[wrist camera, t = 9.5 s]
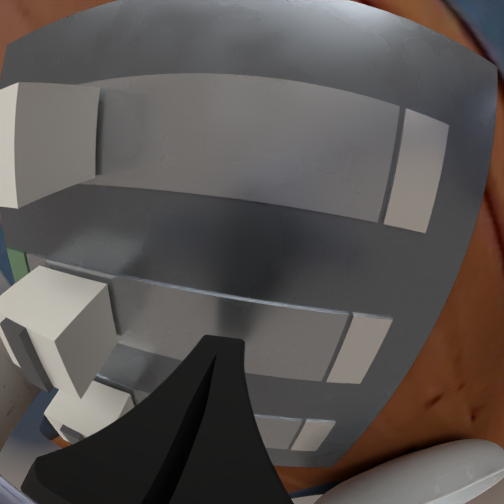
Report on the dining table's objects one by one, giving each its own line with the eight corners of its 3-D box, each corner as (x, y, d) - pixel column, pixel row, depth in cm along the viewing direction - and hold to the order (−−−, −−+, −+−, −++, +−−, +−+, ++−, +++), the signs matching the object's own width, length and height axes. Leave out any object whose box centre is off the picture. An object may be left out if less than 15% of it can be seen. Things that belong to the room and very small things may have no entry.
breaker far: (130, 394, 13) (102, 450, 9) (139, 421, 14) (118, 471, 10) (71, 371, 13) (40, 418, 9) (85, 400, 14) (60, 443, 10)
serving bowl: (368, 502, 24) (371, 540, 18) (255, 481, 20) (247, 539, 14) (504, 430, 17) (519, 471, 10) (465, 377, 13) (502, 459, 6)
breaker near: (100, 87, 7) (6, 82, 3) (95, 177, 8) (6, 214, 4) (26, 103, 7) (-52, 113, 3) (25, 175, 8) (-49, 205, 5)
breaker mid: (107, 283, 10) (47, 349, 6) (118, 342, 11) (76, 407, 7) (39, 265, 10) (-19, 311, 6) (53, 319, 11) (8, 368, 8)
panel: (475, 70, 6) (498, 66, 5) (331, 450, 16) (332, 468, 15) (27, 47, 7) (5, 45, 6) (78, 396, 17) (69, 410, 16)
